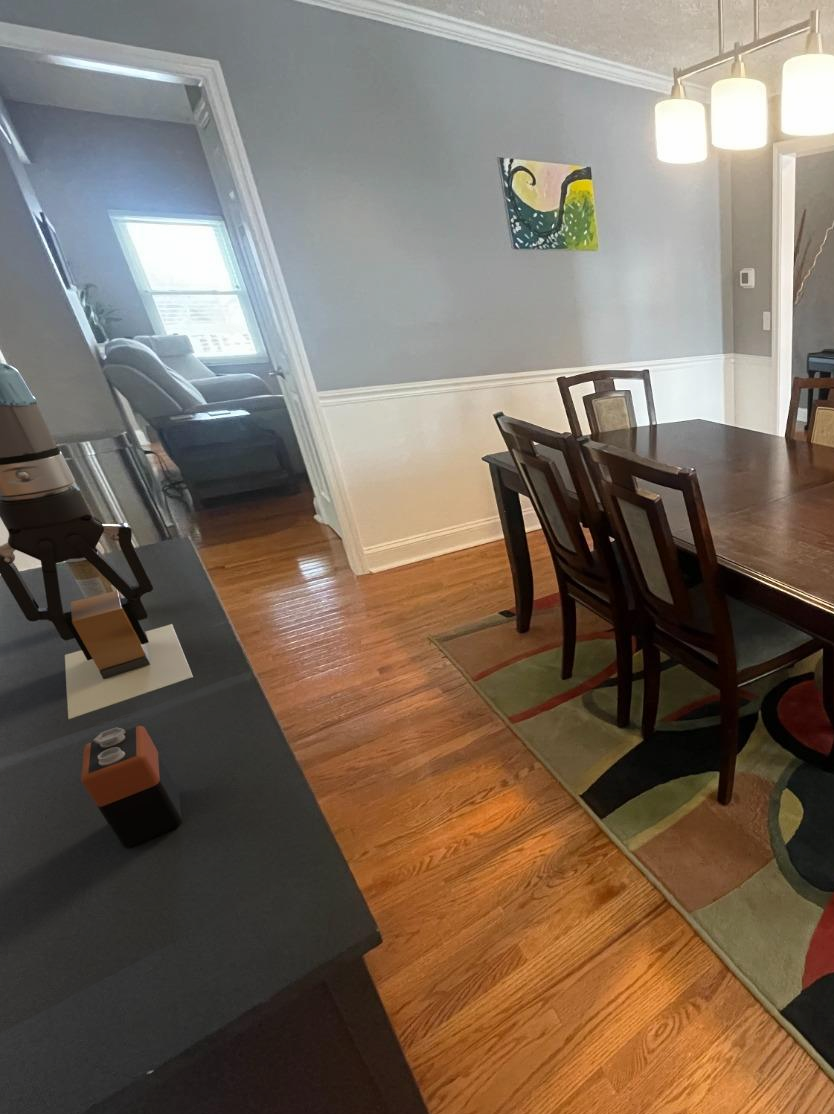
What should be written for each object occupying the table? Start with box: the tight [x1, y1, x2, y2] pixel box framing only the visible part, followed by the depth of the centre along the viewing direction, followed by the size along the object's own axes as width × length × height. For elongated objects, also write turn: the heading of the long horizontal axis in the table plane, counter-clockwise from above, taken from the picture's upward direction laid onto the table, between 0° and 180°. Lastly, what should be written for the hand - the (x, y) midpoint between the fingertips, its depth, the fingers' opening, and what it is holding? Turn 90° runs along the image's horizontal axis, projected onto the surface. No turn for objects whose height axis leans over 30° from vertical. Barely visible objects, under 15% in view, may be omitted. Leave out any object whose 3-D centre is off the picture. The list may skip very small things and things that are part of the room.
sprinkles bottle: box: [64, 541, 125, 599], centre depth 97 cm, size 5×5×14 cm
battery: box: [80, 725, 182, 849], centre depth 59 cm, size 4×7×10 cm, turn 44°
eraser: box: [70, 591, 150, 679], centre depth 84 cm, size 9×5×9 cm, turn 47°
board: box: [64, 623, 194, 720], centre depth 85 cm, size 22×12×1 cm, turn 47°
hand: (118, 647), depth 85 cm, fingers closed on eraser, 5 cm apart
